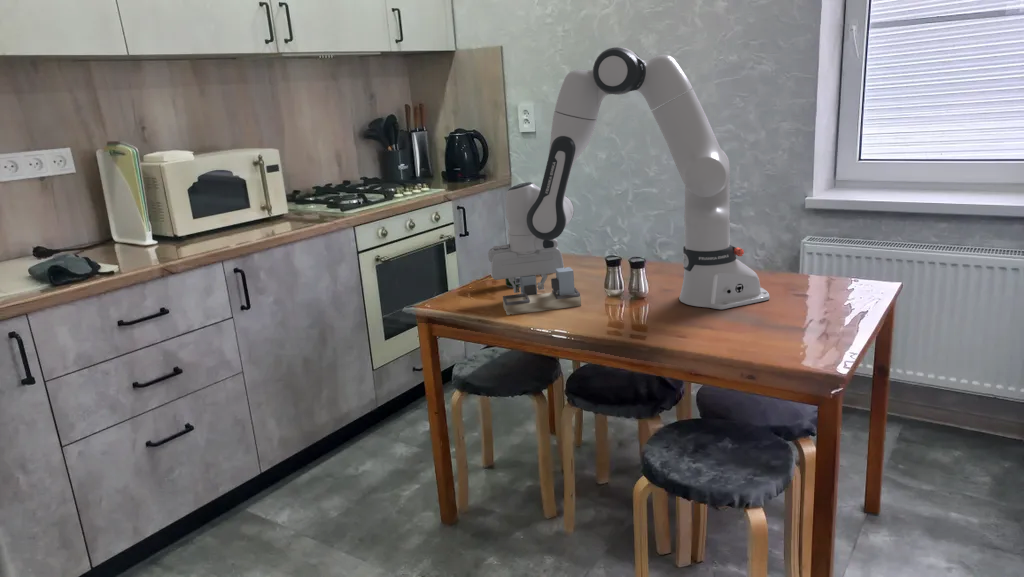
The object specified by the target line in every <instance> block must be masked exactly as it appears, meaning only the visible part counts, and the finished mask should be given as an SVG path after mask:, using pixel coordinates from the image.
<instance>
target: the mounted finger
mask: <svg viewBox="0 0 1024 577" xmlns="http://www.w3.org/2000/svg"><path fill="white" fill-rule="evenodd" d="M574 273H575V272H574V269H572V267H571V266H567V267H564V268H557V269H556V273H555V277H554V278H550V282H551V289H552V290H554V291H555V290H557V294H558V295H559V296H561V295H569V294H575V289H574V288H575V277H574V275H575V274H574Z"/></svg>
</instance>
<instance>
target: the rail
mask: <svg viewBox="0 0 1024 577" xmlns="http://www.w3.org/2000/svg"><path fill="white" fill-rule="evenodd" d="M574 289H575V294H569V295H561V296H559V295H558V294H557V290H555V291H554V290H553V289H552V290H551V292H545V293H537V294H536V295H528V296H527V294H525V293H524V294H521V293H514V294H509V295H503V296H502V302H503V303H502V304H503V305H502V306H503V309H504V311H506V312H505V313H506V316H510V314H512V315H518V314H519V315H521V314H527V313H536V312H543V311H550V310H557V309H565V308H574V307H582V299H581V298H582V297H581V292H580V291H578V289H577V288H576V287H574Z"/></svg>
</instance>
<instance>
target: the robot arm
mask: <svg viewBox="0 0 1024 577" xmlns="http://www.w3.org/2000/svg"><path fill="white" fill-rule="evenodd" d="M592 67H593V68H592V69H581V68H579V69H575V70H572V71H570V72H568V73H567V74H566V75H565V77H564V80H563V82H562V85H561V87H560V90H559V93H558V96H557V99H556V104H555V107H554V112H553V116H552V117H553V118H552V123H551V124H552V125H551V131H550V140H549V141H550V142H549V151H548V158H547V161H546V166H545V169H544V175H543V179H542V182H541V185H540V186H541V187H539V186H538V185H536V184H535V183H534V182H530V181H529V182H523V183H518V184H516V185H514V186H512V187H510V188H509V189H508V190H507V191H506V194H505V196H506V198H505V211H506V215H505V216H506V219H507V223H508V231H507V236H508V244H502V245H494V246H492V247H491V248H489V250H488V252H487V258H488V260H489V262H490V275H491V278H493V280H495V281H497V280H505V279H507V278H509V281H510V283H511V284H512V286H513V288H512V290H513V293H514V294H519V293H521V289H520V287H519V285H515V284H514V282H513V281H515V279H514V278H516V277H524V276H532V275H536V276H539V275H540V276H541V280H540V282H537V290H539V291H541V290H545V285H544V284H545V283H546V280H547V279H548V274H556V269H557V268H565V265H564V259H563V254H562V251H561V250H560V249H559V247H558V246H559V244H558V243H559V242H558V240H557V238H559V237H560V236H561V235H562V233H563V232H564V230H565V229H566V227H567V226H568V225H569V224H570V222H571V220H572V219H573V218H574V213H575V207H574V204H573V202H572V200H571V199H570V198H569V197H568V196H566V193H567V192H566V191H567V188H568V183H569V181H570V180H569V179H570V176H571V172H572V170H573V167H574V165H575V163H576V162H577V160H578V159H579V157H580V155H582V153H583V152H584V151H585V150H586V148H587V147H588V146H589V143H590V141H591V139H592V136H593V134H594V132H595V128H596V125H597V120H598V116H599V112H600V107H601V105H602V103H603V100H604V99H605V98H606V97H607V96H608V95H618V96H619V95H624V94H627V93H629V92H633V91H638V93H640V94H641V95H642V96H643V97H644V99H645V101H646V103H647V105H648V107H649V109H650V111H651V113H652V115H653V117H654V119H655V121H656V123H657V125H658V127H659V130H660V131H661V134H662V136H663V137H664V140H665V142H666V144H667V147H668V150H669V151H670V154H671V157H672V159H673V161H674V164H675V166H676V169H677V171H678V172H679V175H680V177H681V179H682V181H683V184H684V245H683V248H682V251H683V252H682V263H683V269H684V270H683V280H682V286H681V291H680V294H679V297H678V298H679V301H680V302H681V303H683V304H685V305H688V306H693V307H700V308H701V307H702V308H708V309H709V308H711V309H715V310H726V309H730V308H736V307H741V306H745V305H751V304H754V303H759V302H765V301H768V300H770V293H769V292H768V291H767V290H766V289H765V288H763V287H762V286H761V283H760V278H759V275H758V274H757V272H755V271H754V270H753V269H752V268H750V267H749V266H747V265H746V264H745V263H744V262H742V261H740V260H739V259H738V258H737V256H738V257H742V256H743V255H744V254H745V250H744V249H743V248H741V247H735V246H733V245H731V244H730V243H731V242H730V232H731V231H730V228H731V227H730V226H731V225H730V223H731V222H730V220H731V219H730V218H731V214H730V213H731V210H730V209H731V208H730V207H731V206H730V204H731V202H730V200H731V199H730V198H731V197H730V193H731V191H730V189H731V188H730V186H731V184H730V182H731V181H730V178H731V177H730V175H731V174H730V173H731V168H730V167H731V166H730V165H731V164H730V159H729V157H728V155H727V154H726V152H725V151H724V150H723V149H722V148H721V145H720V143H719V142H718V139H717V137H716V135H715V132H714V131H713V128H712V126H711V124H710V121H709V119H708V117H707V114H706V112H705V111H704V108H703V106H702V104H701V102H700V100H699V98H698V96H697V93H696V92H695V89H694V88H693V86H692V84H691V81H690V80H689V78H688V77H687V75H686V73H685V72H684V70H683V69H682V67H681V66H680V64H679V63H678V61H676V59H675V58H674V57H672V56H671V55H669V54H657V55H655V56H652V57H651V58H649V59H645V60H644V59H642V58H641V57H640V56H639V55H638V54H637V53H636V52H634V51H633V50H631V49H629V48H626V47H624V46H623V47H621V46H619V47H618V46H617V47H610V48H607V49H605V50H603V51H602V52H600V54H599V55H598V56H597V57H596V60H595V61H594V64H593V66H592ZM509 249H510V250H509Z"/></svg>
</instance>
